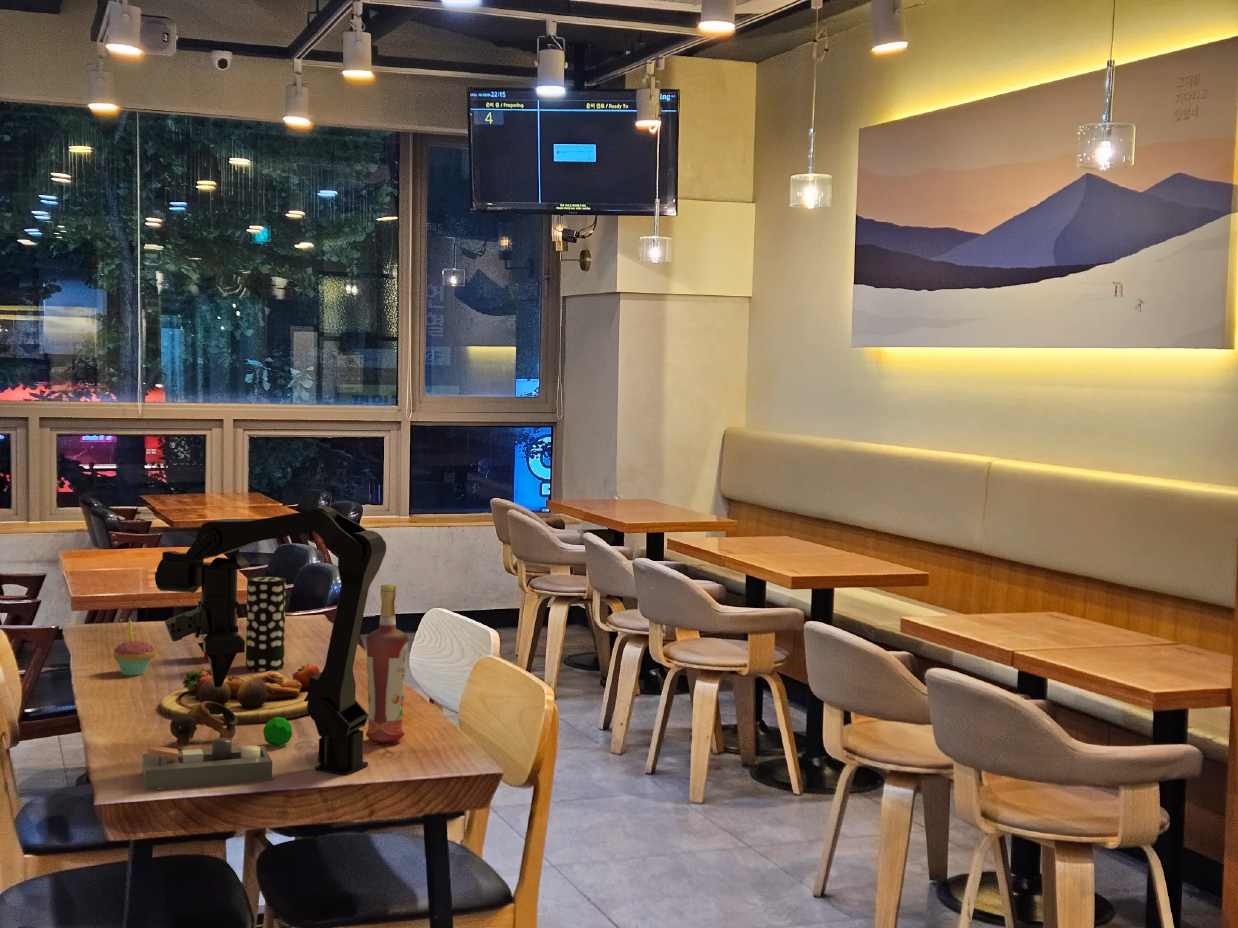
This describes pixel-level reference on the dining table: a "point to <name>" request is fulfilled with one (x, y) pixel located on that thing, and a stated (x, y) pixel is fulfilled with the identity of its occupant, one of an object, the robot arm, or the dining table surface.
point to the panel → (205, 770)
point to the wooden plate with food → (244, 695)
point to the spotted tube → (265, 623)
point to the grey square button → (192, 756)
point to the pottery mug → (203, 721)
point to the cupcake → (133, 655)
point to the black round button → (221, 749)
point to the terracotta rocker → (163, 752)
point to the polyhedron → (277, 731)
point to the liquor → (386, 674)
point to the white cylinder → (250, 752)
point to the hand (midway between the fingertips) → (217, 686)
